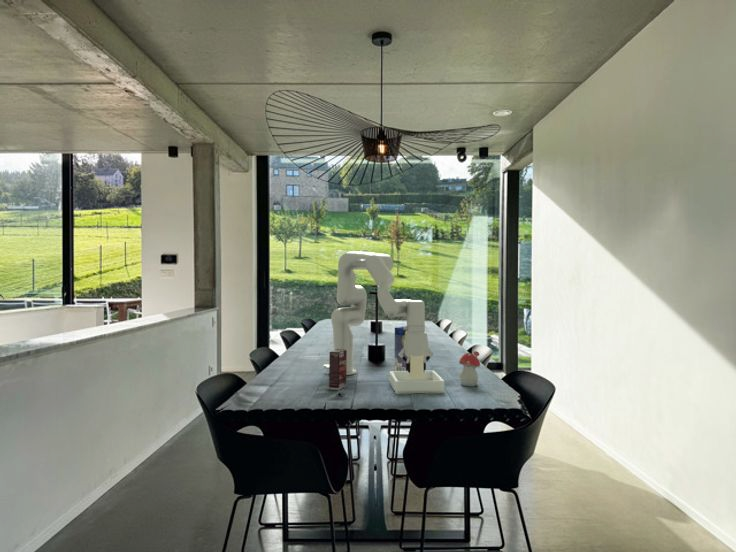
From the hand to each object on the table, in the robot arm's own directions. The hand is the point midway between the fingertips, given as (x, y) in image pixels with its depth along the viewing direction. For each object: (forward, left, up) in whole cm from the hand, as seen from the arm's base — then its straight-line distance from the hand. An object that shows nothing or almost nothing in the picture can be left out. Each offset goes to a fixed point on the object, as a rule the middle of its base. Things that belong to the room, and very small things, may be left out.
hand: (416, 371), depth 230 cm
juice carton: (0, 0, -2) cm, 2 cm away
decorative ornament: (+24, +3, -7) cm, 25 cm away
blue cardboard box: (+1, +34, -7) cm, 35 cm away
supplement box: (-33, +2, -7) cm, 34 cm away
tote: (0, 0, -7) cm, 7 cm away
